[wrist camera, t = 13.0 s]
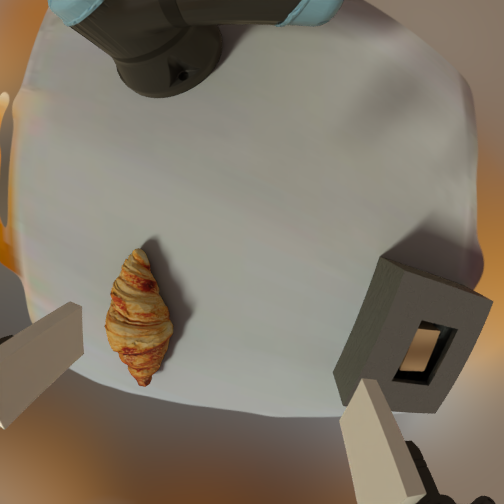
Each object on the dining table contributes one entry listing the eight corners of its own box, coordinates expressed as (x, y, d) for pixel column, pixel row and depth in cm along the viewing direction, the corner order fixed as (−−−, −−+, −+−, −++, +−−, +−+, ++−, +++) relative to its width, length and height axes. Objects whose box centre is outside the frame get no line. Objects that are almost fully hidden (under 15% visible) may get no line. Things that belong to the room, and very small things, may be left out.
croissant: (135, 242, 41) (90, 246, 35) (181, 250, 36) (129, 258, 29) (142, 365, 45) (105, 381, 38) (184, 390, 39) (144, 412, 33)
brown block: (398, 311, 36) (416, 328, 30) (421, 314, 36) (440, 331, 30) (385, 349, 37) (399, 370, 31) (407, 351, 37) (423, 371, 31)
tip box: (379, 256, 36) (404, 270, 28) (463, 285, 35) (493, 301, 27) (332, 372, 39) (342, 405, 31) (416, 385, 39) (435, 413, 31)
